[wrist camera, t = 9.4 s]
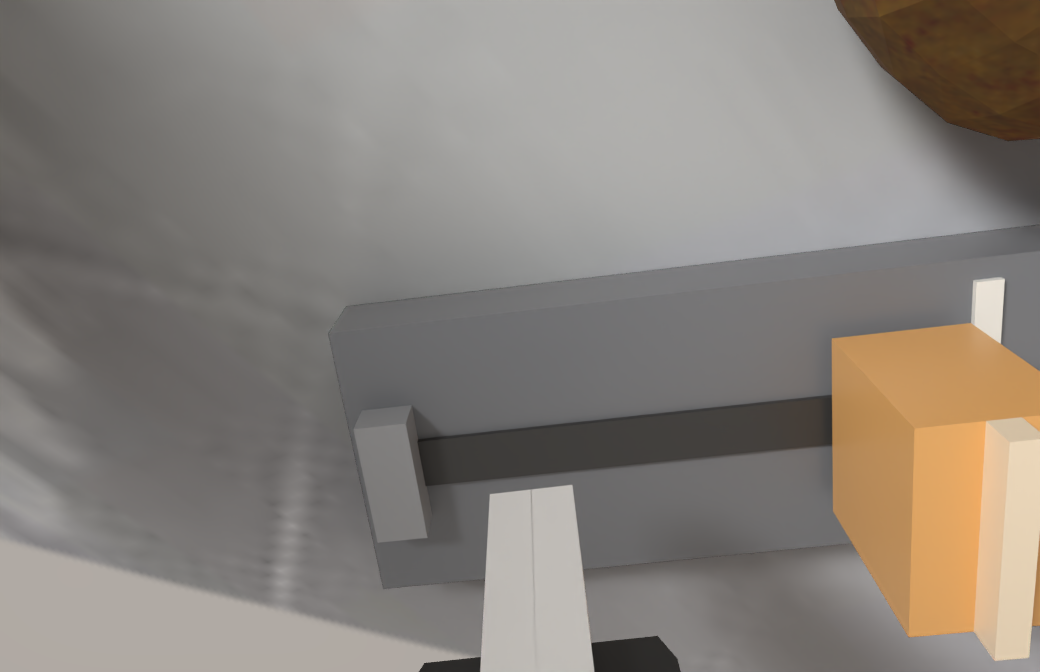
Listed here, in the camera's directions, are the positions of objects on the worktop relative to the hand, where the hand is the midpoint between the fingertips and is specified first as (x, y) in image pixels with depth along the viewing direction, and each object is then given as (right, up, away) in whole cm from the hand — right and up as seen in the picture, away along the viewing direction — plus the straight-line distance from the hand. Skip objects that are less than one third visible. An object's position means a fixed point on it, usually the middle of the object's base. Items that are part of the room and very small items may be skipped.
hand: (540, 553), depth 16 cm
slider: (+8, +2, +4) cm, 9 cm away
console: (+6, +3, +6) cm, 9 cm away
